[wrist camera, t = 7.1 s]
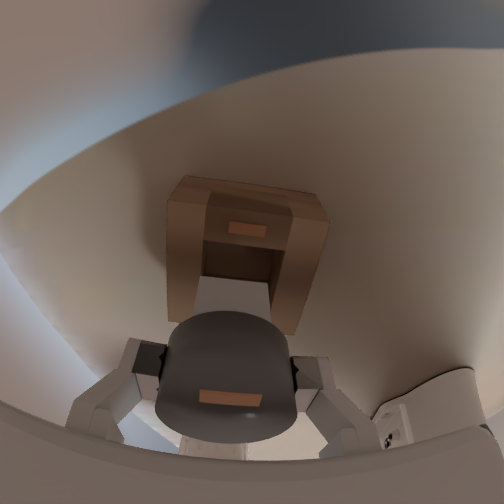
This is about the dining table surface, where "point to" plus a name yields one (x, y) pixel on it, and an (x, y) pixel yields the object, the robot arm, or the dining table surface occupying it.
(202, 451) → the white cup
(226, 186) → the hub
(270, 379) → the knob
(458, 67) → the dining table surface
